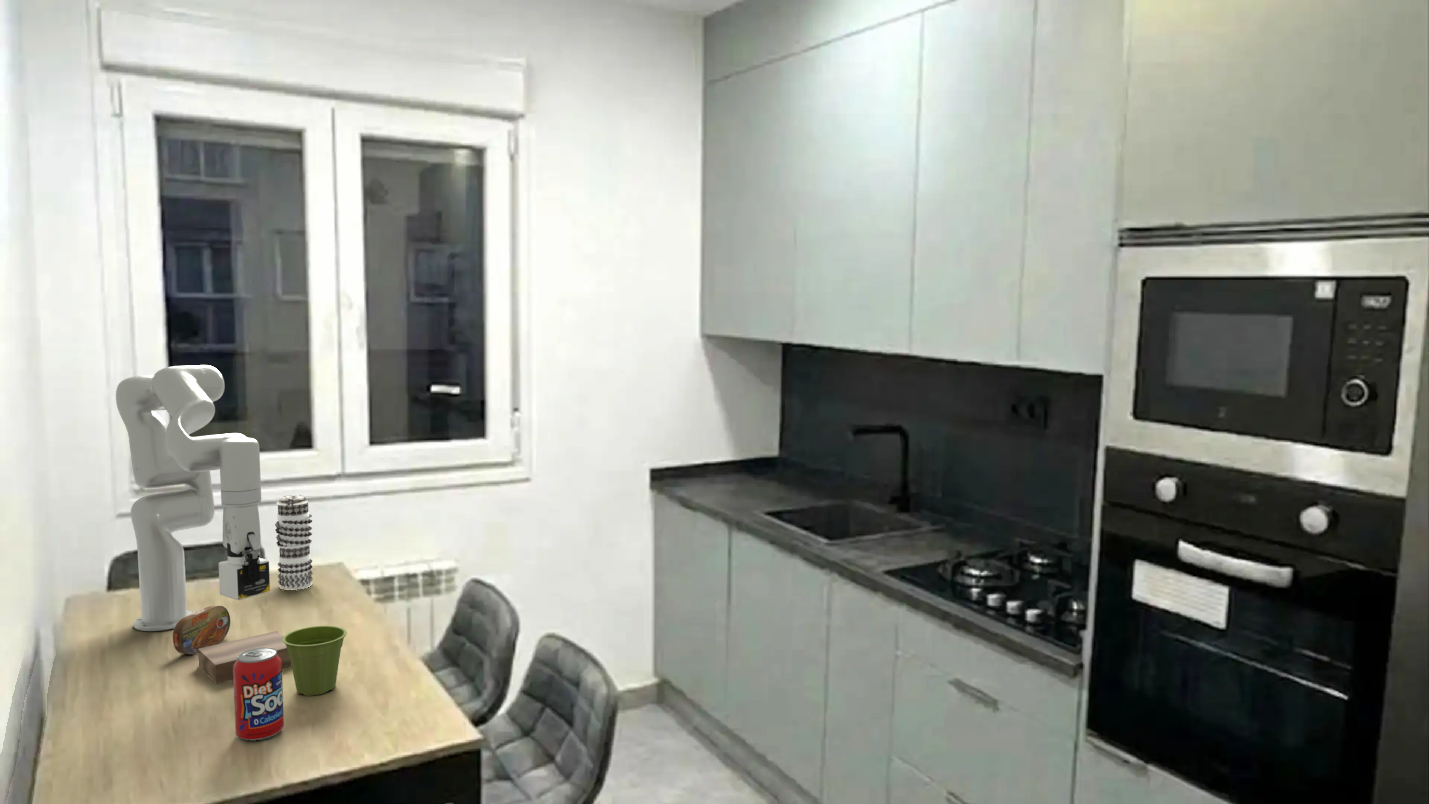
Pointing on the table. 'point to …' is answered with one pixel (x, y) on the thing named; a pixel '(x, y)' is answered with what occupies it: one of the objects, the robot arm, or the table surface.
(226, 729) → the table surface
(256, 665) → the soda can
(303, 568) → the decorative candle
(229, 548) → the medicine bottle
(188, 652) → the tin
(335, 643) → the plant pot
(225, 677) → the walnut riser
